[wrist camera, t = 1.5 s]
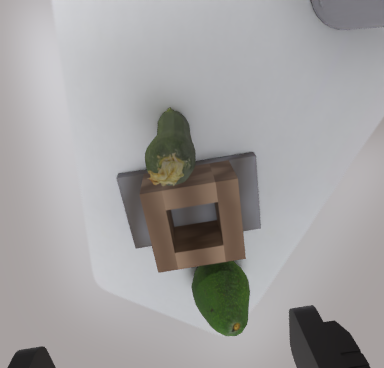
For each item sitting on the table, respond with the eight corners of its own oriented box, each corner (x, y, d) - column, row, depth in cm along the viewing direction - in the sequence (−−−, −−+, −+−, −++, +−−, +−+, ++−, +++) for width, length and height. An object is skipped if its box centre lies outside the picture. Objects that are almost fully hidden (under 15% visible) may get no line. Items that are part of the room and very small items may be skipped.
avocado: (232, 289, 51) (249, 356, 40) (185, 281, 50) (189, 348, 39) (247, 248, 48) (270, 309, 37) (198, 239, 47) (206, 300, 36)
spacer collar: (253, 152, 41) (269, 173, 35) (258, 222, 46) (273, 254, 39) (118, 173, 41) (108, 199, 35) (136, 242, 46) (130, 277, 39)
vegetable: (195, 125, 39) (216, 195, 21) (169, 147, 40) (168, 231, 22) (172, 98, 38) (173, 147, 20) (145, 121, 39) (123, 189, 21)
